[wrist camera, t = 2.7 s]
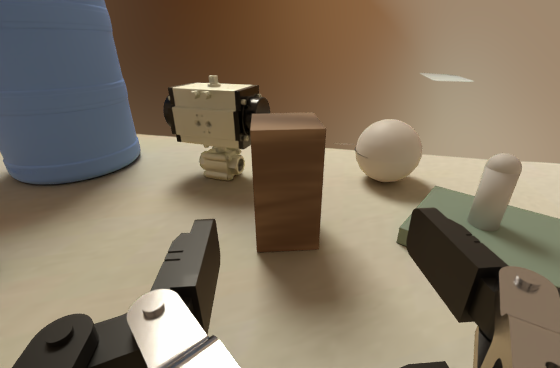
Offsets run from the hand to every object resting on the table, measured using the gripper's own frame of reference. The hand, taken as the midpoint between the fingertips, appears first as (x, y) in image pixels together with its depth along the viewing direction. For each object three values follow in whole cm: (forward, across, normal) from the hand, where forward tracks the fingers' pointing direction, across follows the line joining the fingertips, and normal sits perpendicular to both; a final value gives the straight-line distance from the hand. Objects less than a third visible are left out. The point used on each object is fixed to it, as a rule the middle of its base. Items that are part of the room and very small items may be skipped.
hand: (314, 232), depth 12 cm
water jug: (+31, +28, +8) cm, 42 cm away
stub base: (+9, -16, +8) cm, 20 cm away
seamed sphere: (+22, -12, +8) cm, 26 cm away
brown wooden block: (+11, 0, +8) cm, 14 cm away
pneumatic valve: (+24, +7, +8) cm, 27 cm away
